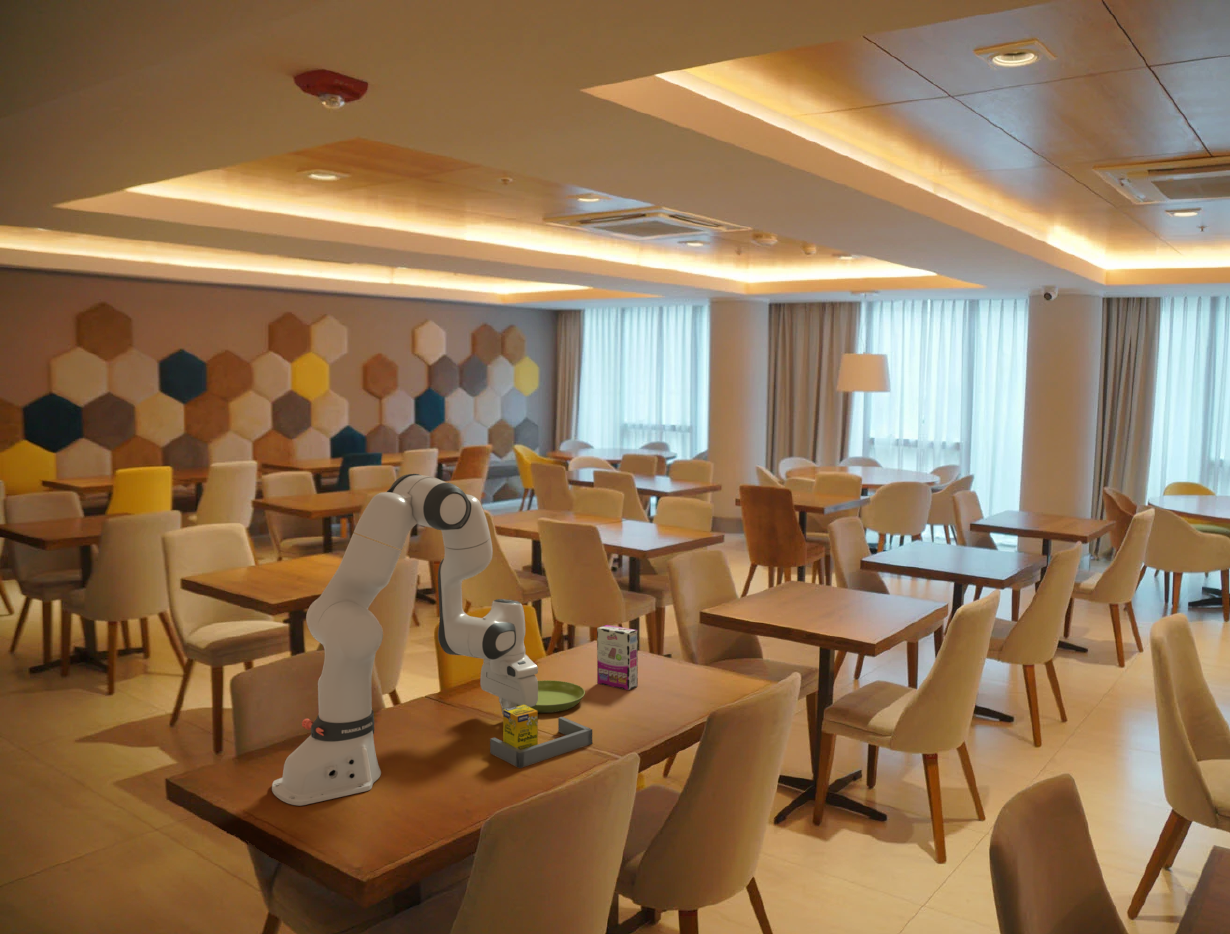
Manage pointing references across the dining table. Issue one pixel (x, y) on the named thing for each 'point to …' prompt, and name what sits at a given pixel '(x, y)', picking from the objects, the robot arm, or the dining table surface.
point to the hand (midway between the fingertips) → (508, 715)
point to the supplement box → (520, 727)
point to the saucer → (557, 696)
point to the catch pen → (544, 745)
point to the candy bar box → (617, 657)
